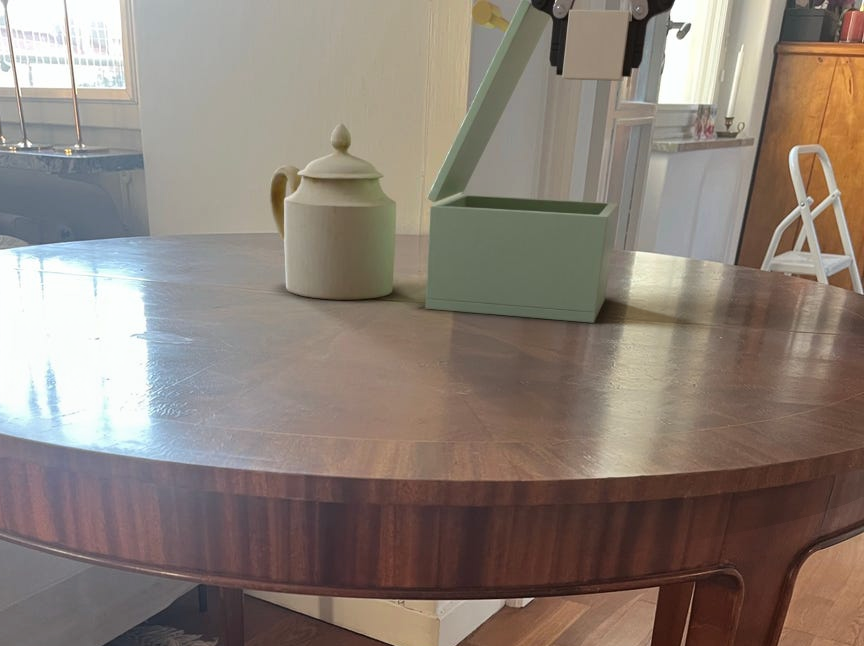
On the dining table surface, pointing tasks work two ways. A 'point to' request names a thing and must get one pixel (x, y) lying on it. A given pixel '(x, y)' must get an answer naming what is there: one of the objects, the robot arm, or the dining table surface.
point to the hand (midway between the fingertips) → (593, 74)
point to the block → (596, 44)
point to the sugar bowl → (335, 226)
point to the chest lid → (490, 92)
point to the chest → (520, 256)
